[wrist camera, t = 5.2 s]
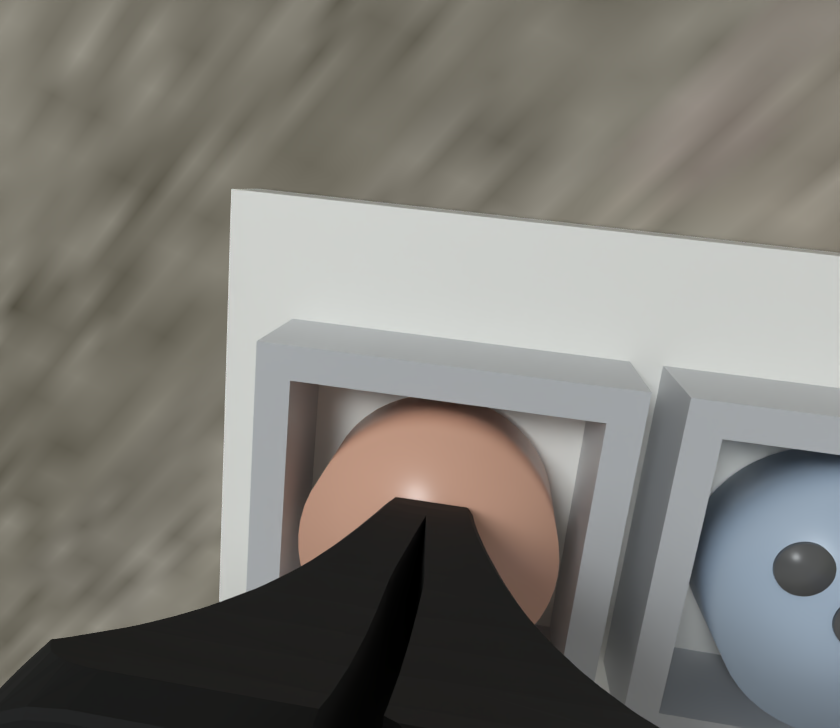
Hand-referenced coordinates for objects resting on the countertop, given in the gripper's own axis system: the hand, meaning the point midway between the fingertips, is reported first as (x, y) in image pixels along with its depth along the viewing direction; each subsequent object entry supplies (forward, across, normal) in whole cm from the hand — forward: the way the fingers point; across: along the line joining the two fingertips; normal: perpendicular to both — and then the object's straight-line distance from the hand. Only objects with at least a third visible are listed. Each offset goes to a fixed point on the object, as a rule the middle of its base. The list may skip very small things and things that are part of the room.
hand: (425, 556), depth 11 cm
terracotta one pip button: (+2, 0, 0) cm, 2 cm away
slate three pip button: (+2, -7, 0) cm, 7 cm away
